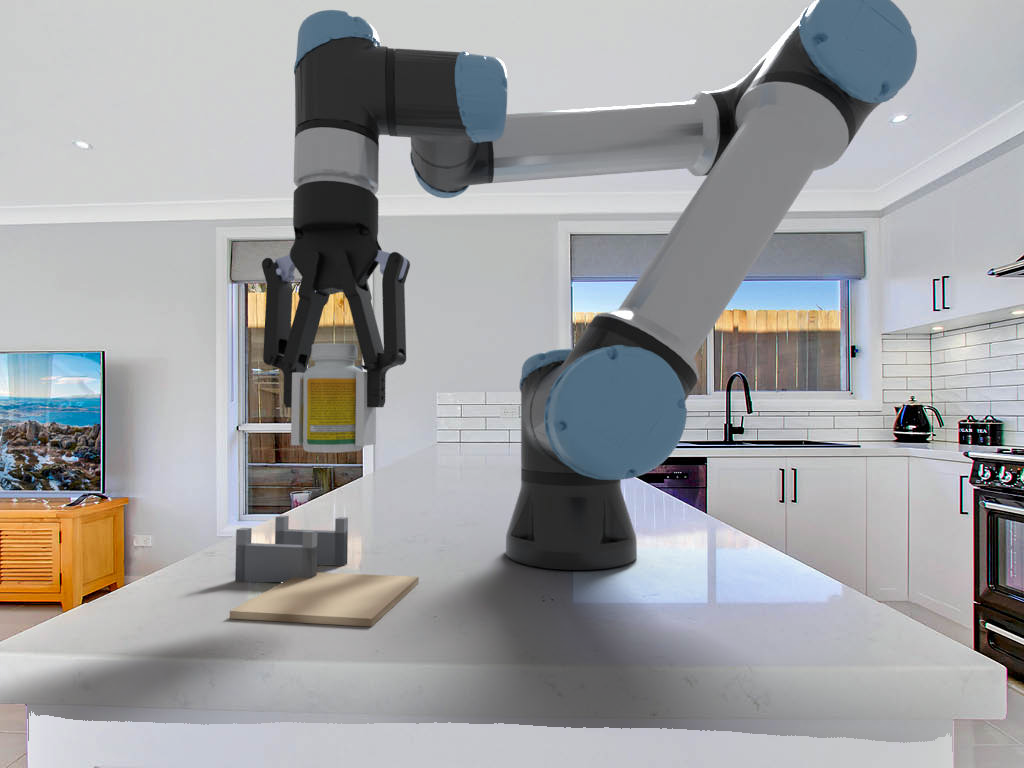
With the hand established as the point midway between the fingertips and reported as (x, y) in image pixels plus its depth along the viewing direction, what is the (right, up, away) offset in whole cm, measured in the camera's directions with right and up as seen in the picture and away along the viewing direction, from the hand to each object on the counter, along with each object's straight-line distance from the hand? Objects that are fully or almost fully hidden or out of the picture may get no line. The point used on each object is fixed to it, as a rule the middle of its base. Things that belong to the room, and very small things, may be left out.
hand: (333, 444), depth 55 cm
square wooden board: (0, -14, -1) cm, 14 cm away
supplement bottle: (0, -1, 0) cm, 1 cm away
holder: (-7, -14, +8) cm, 18 cm away
